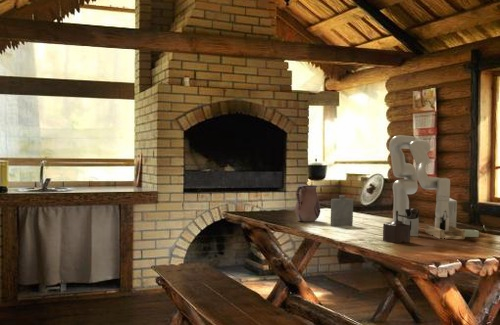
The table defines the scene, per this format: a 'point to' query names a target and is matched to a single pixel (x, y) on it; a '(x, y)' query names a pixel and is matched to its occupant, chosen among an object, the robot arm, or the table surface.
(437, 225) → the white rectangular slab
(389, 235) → the dark brown coffee grinder
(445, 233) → the offcut walnut
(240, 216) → the table surface
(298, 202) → the ceramic pitcher
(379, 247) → the table surface
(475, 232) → the holder
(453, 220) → the packaging
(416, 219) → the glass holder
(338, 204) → the hip flask
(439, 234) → the rack
